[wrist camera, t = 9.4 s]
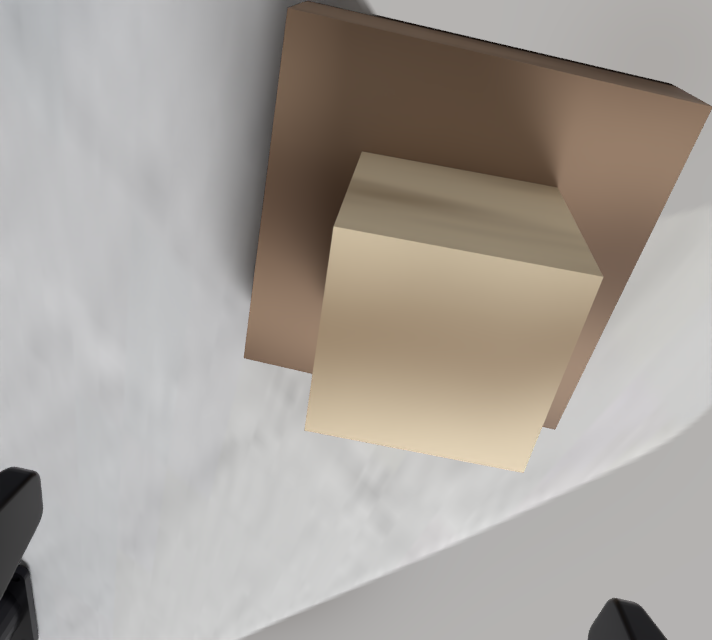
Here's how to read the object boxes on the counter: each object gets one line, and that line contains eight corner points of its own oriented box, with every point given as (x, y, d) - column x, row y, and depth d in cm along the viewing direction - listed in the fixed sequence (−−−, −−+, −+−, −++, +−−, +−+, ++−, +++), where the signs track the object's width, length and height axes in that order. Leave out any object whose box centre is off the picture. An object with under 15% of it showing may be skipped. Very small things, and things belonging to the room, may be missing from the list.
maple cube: (503, 350, 18) (523, 472, 14) (335, 318, 18) (304, 430, 14) (558, 187, 16) (603, 277, 11) (361, 151, 16) (333, 226, 11)
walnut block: (541, 373, 22) (555, 429, 19) (266, 310, 22) (243, 358, 19) (670, 83, 17) (712, 106, 14) (310, -1, 17) (287, 7, 14)
